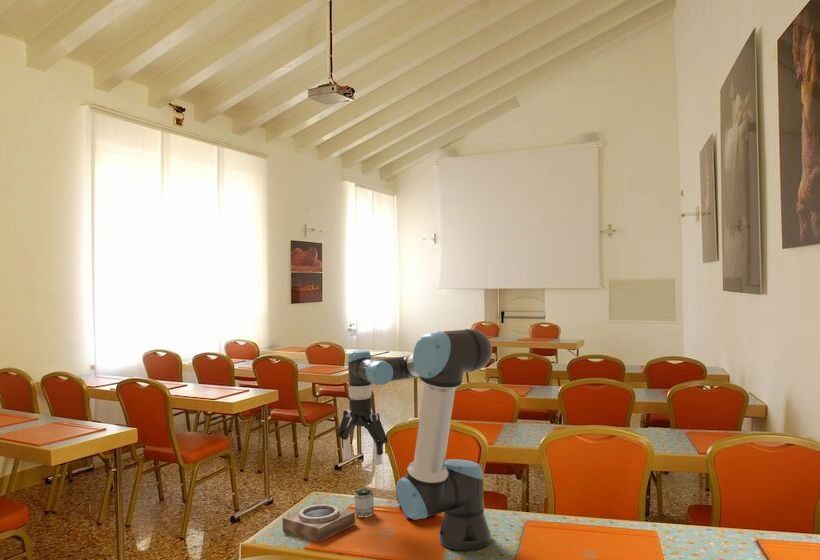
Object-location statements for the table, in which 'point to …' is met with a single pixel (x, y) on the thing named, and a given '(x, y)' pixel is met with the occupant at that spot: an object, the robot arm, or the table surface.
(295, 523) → the mount block
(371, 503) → the camera lens
